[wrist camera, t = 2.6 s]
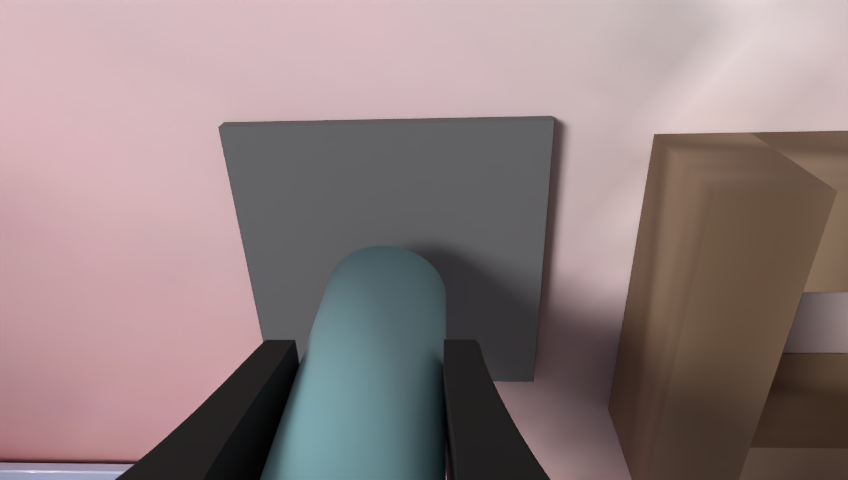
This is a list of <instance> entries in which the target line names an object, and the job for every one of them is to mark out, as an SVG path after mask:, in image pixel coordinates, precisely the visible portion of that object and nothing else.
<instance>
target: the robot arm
mask: <svg viewBox="0 0 848 480" xmlns="http://www.w3.org/2000/svg"><path fill="white" fill-rule="evenodd" d="M299 365H300V364H299V358H298V352H297V347H296V341H295V340H265V341H264V342H263V343H262V344H261V345H260V346H259V347H258V348H257V349H256V350H255V351H254V352H253V353H252V354H251V355H250V356H249V357H248V358H247V359H246V360H245V361H244V362H243V363H242V364H241V365H240V366H239V367H238V369H237V370H236V371H235V372H234V373H233V374H232V375H231V376H230V377H229V378H228V379H227V380H226V381H225V382H224V383H223V384H222V385H221V386H220V387H219V388H218V389H217V390H216V391H215V392H214V393H213V394H212V395H211V396H210V397H209V398H208V399H207V400H206V401H205V402H204V403H203V404H202V405H201V406H200V407H199V408H198V409H197V410H196V411H194V412H193V413H192V414H191V415H190V416H189V417H188V418H187V419H186V420H185V421H184V422H183V423H182V424H180V425H179V426H178V427H177V428H176V429H175V430H174V431H173V432H172V433H170V434H169V435H168V436H167V437H166V438H165V439H164V440H163V441H162V442H160V443H159V444H158V445H157V446H156V447H155V448H154V449H152V450H151V451H150V452H149V453H148V454H146V455H145V456H144V457H143V458H142V459H140V460H139V461H138V462H137V463H135V464H73V463H0V480H260V478H261V475H262V472H263V469H264V466H265V463H266V460H267V457H268V454H269V452H270V449H271V446H272V443H273V440H274V437H275V434H276V431H277V428H278V425H279V423H280V420H281V417H282V414H283V411H284V408H285V405H286V402H287V399H288V397H289V394H290V391H291V388H292V385H293V382H294V379H295V376H296V373H297V370H298V368H299ZM443 371H444V408H445V423H446V475H447V480H550V478H549V477H548V476H547V474H546V473H545V471H544V470H543V468H542V467H541V465H540V464H539V462H538V461H537V459H536V458H535V456H534V455H533V453H532V452H531V450H530V448H529V447H528V445H527V444H526V442H525V440H524V439H523V437H522V436H521V434H520V432H519V431H518V429H517V427H516V425H515V424H514V422H513V420H512V418H511V416H510V414H509V413H508V411H507V409H506V407H505V405H504V403H503V401H502V399H501V398H500V396H499V393H498V391H497V389H496V387H495V385H494V383H493V381H492V378H491V376H490V374H489V371H488V369H487V366H486V364H485V361H484V358H483V355H482V352H481V348H480V344H479V343H478V342H477V341H476V340H475V339H444V355H443Z"/></svg>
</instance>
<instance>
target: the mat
mask: <svg viewBox="0 0 848 480" xmlns="http://www.w3.org/2000/svg"><path fill="white" fill-rule="evenodd" d="M218 128H219V133H220V137H221V142H222V147H223V152H224V157H225V161H226V166H227V171H228V176H229V180H230V185H231V190H232V195H233V200H234V204H235V209H236V214H237V219H238V224H239V228H240V233H241V238H242V243H243V247H244V252H245V257H246V262H247V267H248V271H249V276H250V281H251V286H252V290H253V295H254V300H255V305H256V310H257V314H258V319H259V324H260V329H261V333H262V338H263V342H264V341H265V340H295V341H296V347H297V352H298V358H299V364H300V362H301V359H302V356H303V353H304V350H305V347H306V344H307V342H308V339H309V336H310V333H311V330H312V327H313V324H314V321H315V318H316V315H317V313H318V310H319V307H320V304H321V301H322V298H323V295H324V292H325V289H326V286H327V284H328V281H329V278H330V276H331V274H332V272H333V270H334V269H335V267H336V266H337V265H338V264H339V262H340V261H342V260H343V259H344V258H345V257H347V256H348V255H350V254H351V253H353V252H355V251H357V250H360V249H363V248H366V247H371V246H381V245H385V246H395V247H400V248H404V249H407V250H410V251H412V252H414V253H416V254H418V255H420V256H421V257H423V258H424V259H426V260H427V261H428V262H429V263H430V264H431V265H432V266H433V267H434V268H435V269H436V270H437V272H438V273H439V275H440V276H441V278H442V281H443V283H444V286H445V290H446V339H475V340H476V341H477V342H478V343H479V344H480V348H481V352H482V355H483V358H484V361H485V364H486V366H487V369H488V371H489V374H490V376H491V378H492V381H531V382H534V369H535V357H536V344H537V331H538V319H539V306H540V294H541V281H542V268H543V256H544V243H545V230H546V218H547V205H548V193H549V180H550V167H551V155H552V142H553V129H554V120H553V118H552V116H530V117H478V118H427V119H375V120H324V121H273V122H224V123H223V124H222V125H221V126H219V127H218Z"/></svg>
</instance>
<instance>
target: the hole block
mask: <svg viewBox="0 0 848 480" xmlns="http://www.w3.org/2000/svg"><path fill="white" fill-rule="evenodd" d="M803 292H848V131H817V132H760V133H704V134H654V139H653V145H652V151H651V157H650V163H649V169H648V175H647V181H646V187H645V193H644V199H643V205H642V211H641V217H640V223H639V229H638V235H637V241H636V247H635V253H634V259H633V265H632V271H631V277H630V283H629V289H628V295H627V301H626V307H625V313H624V319H623V325H622V331H621V337H620V343H619V349H618V355H617V361H616V367H615V373H614V379H613V385H612V391H611V397H610V403H609V412H610V415H611V418H612V421H613V424H614V427H615V430H616V433H617V436H618V439H619V442H620V445H621V448H622V451H623V454H624V457H625V460H626V463H627V466H628V469H629V472H630V475H631V478H632V480H848V354H782V352H783V349H784V346H785V344H786V341H787V338H788V335H789V332H790V329H791V326H792V323H793V320H794V317H795V314H796V311H797V308H798V306H799V303H800V300H801V297H802V294H803Z"/></svg>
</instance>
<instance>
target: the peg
mask: <svg viewBox="0 0 848 480" xmlns="http://www.w3.org/2000/svg"><path fill="white" fill-rule="evenodd" d="M444 339H446V290H445V286H444V283H443V281H442V278H441V276H440V275H439V273H438V272H437V270H436V269H435V268H434V267H433V266H432V265H431V264H430V263H429V262H428V261H427V260H426V259H424V258H423V257H421V256H420V255H418V254H416V253H414V252H412V251H410V250H407V249H404V248H400V247H395V246H385V245H381V246H371V247H366V248H363V249H360V250H357V251H355V252H353V253H351V254H350V255H348V256H347V257H345V258H344V259H343V260H342V261H340V262H339V264H338V265H337V266H336V267H335V269H334V270H333V272H332V274H331V276H330V278H329V281H328V284H327V286H326V289H325V292H324V295H323V298H322V301H321V304H320V307H319V310H318V313H317V315H316V318H315V321H314V324H313V327H312V330H311V333H310V336H309V339H308V342H307V344H306V347H305V350H304V353H303V356H302V359H301V362H300V365H299V368H298V370H297V373H296V376H295V379H294V382H293V385H292V388H291V391H290V394H289V397H288V399H287V402H286V405H285V408H284V411H283V414H282V417H281V420H280V423H279V425H278V428H277V431H276V434H275V437H274V440H273V443H272V446H271V449H270V452H269V454H268V457H267V460H266V463H265V466H264V469H263V472H262V475H261V478H260V480H446V423H445V408H444V371H443V355H444Z"/></svg>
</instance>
